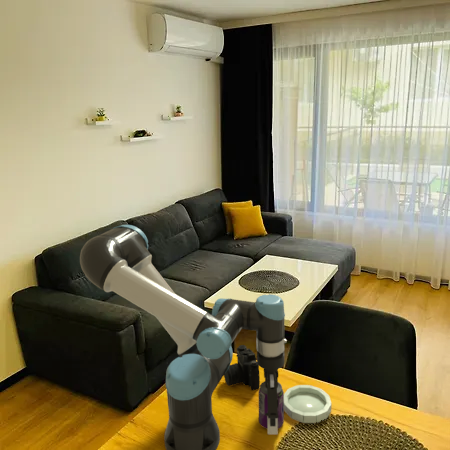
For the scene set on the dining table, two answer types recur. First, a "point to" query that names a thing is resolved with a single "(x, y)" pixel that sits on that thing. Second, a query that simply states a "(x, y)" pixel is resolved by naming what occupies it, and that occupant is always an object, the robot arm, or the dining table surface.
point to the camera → (244, 369)
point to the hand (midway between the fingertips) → (271, 416)
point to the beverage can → (264, 405)
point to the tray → (307, 403)
